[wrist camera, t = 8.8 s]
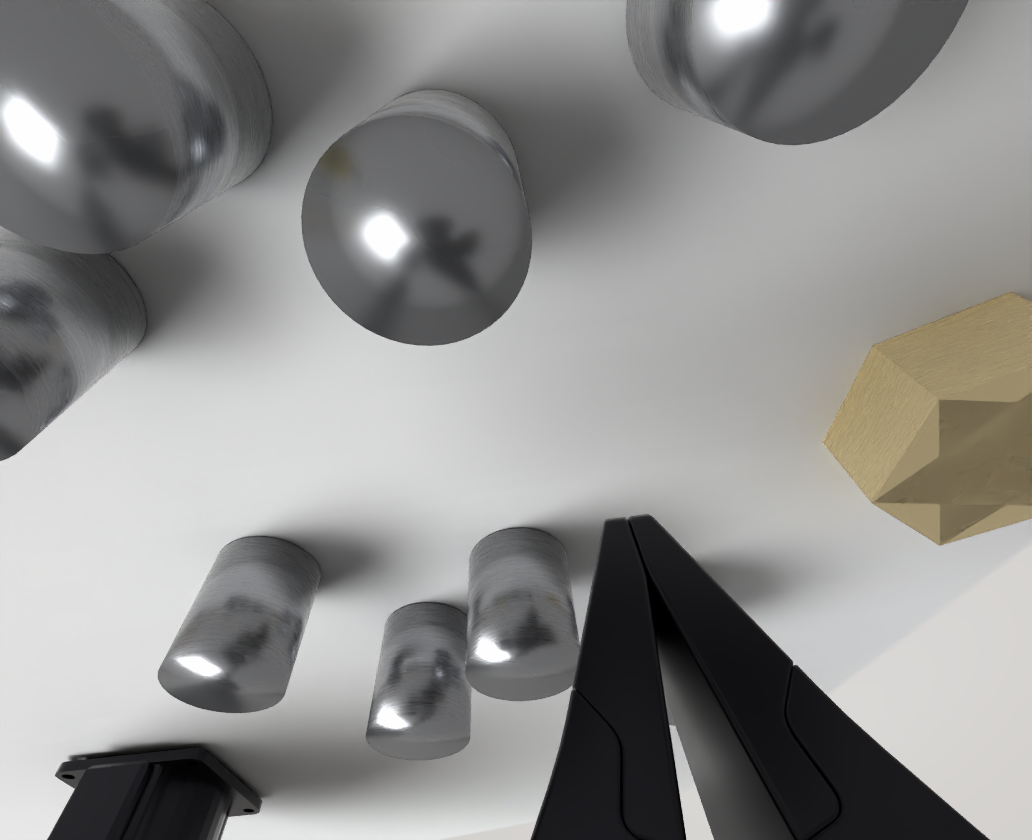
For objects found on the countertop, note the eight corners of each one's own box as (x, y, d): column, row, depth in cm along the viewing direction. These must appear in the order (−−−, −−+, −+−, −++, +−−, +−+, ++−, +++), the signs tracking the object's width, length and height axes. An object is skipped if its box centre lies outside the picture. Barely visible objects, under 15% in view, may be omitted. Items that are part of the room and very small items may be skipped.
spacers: (717, 620, 19) (757, 725, 16) (278, 670, 19) (242, 778, 17) (837, -150, 7) (1049, -262, 5) (-209, 40, 8) (-576, 44, 5)
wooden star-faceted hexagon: (1053, 423, 14) (1141, 485, 12) (830, 497, 16) (878, 563, 14) (1078, 259, 11) (1198, 306, 10) (806, 366, 13) (862, 426, 11)
